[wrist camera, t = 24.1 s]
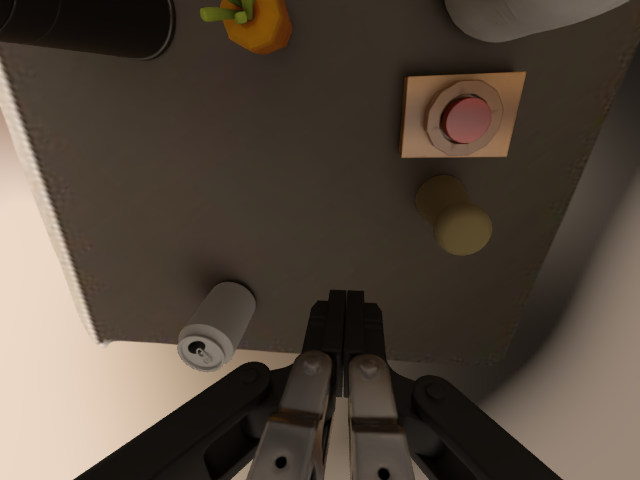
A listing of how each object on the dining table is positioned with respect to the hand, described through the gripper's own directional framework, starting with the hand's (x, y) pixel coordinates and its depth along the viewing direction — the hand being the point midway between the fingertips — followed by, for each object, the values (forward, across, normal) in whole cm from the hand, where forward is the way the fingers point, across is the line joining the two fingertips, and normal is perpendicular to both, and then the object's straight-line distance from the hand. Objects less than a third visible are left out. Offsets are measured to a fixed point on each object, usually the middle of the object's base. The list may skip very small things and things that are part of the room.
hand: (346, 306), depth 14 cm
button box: (+27, -10, -6) cm, 29 cm away
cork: (+27, -10, +4) cm, 29 cm away
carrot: (+27, +8, -14) cm, 32 cm away
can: (+27, +19, +21) cm, 39 cm away
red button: (+23, -11, -6) cm, 26 cm away
